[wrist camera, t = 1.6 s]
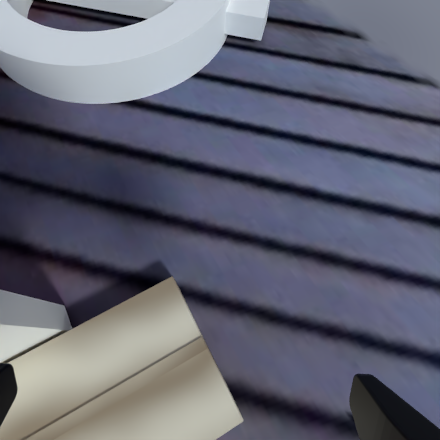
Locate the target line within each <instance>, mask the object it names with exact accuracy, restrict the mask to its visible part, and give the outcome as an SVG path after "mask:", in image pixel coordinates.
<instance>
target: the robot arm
mask: <svg viewBox="0 0 440 440" xmlns="http://www.w3.org/2000/svg"><path fill="white" fill-rule="evenodd" d="M17 390H18V387H17V382H16V377H15V373H14V368H13V366H12V365H11V364H9V363H0V427H1V425H2V423H3V421H4V419H5V417H6V415H7V413H8V411H9V410H10V408H11V406H12V404H13V402H14V400H15V398H16V395H17ZM350 408H351V411H352V415H353V418H354V421H355V425H356V428H357V431H358V435H359V438H360V440H440V429H439V428H438V427H437V426H435V425H434V424H433V423H432V422H430V421H429V420H428V419H427V418H425V417H424V416H423V415H422V414H420V413H419V412H418V411H417V410H415V409H414V408H413V407H412V406H410V405H409V404H408V403H407V402H405V401H404V400H403V399H402V398H400V397H399V396H398V395H397V394H395V393H394V392H393V391H392V390H391V389H389V388H388V387H387V386H386V385H384V384H383V383H382V382H381V381H379V380H378V379H377V378H376V377H374V376H373V375H370V374H356V375H355V376H354V378H353V383H352V388H351V393H350Z"/></svg>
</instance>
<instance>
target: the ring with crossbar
mask: <svg viewBox="0 0 440 440" xmlns="http://www.w3.org/2000/svg"><path fill="white" fill-rule="evenodd" d="M33 1H34V0H0V68H1V69H2V70H3V71H4V72H5V73H6V74H7V75H8V76H9V77H10V78H12V79H13V80H14V81H16V82H17V83H19V84H20V85H22V86H24V87H25V88H27V89H29V90H31V91H33V92H36V93H38V94H41V95H44V96H47V97H50V98H54V99H58V100H62V101H68V102H76V103H88V104H102V103H116V102H123V101H130V100H134V99H139V98H143V97H147V96H150V95H153V94H156V93H159V92H162V91H164V90H167V89H169V88H171V87H173V86H175V85H177V84H179V83H181V82H183V81H185V80H186V79H188V78H190V77H191V76H193V75H194V74H196V73H197V72H198V71H199V70H201V69H202V68H203V67H204V66H205V65H206V64H208V63H209V62H210V61H211V60H212V58H213V57H214V56H215V55H216V54H217V53H218V51H219V50H220V48H221V47H222V45H223V44H224V42H225V40H226V38H227V35H233V36H239V37H244V38H249V39H255V40H260V41H261V39H262V35H263V32H264V28H265V24H266V21H267V15H268V8H269V2H270V0H48V1H53V2H59V3H64V4H70V5H75V6H81V7H86V8H92V9H97V10H103V11H108V12H113V13H119V14H124V15H130V16H135V17H141V18H146V19H147V20H144V21H142V22H139V23H136V24H133V25H130V26H126V27H122V28H118V29H112V30H106V31H96V32H75V31H65V30H59V29H54V28H50V27H46V26H43V25H40V24H37V23H35V22H33V21H31V20H29V19H27V15H28V11H29V8H30V6H31V4H32V2H33Z"/></svg>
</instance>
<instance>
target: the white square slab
mask: <svg viewBox="0 0 440 440" xmlns="http://www.w3.org/2000/svg"><path fill="white" fill-rule="evenodd" d="M71 329H72V326H71V323H70V320H69V317H68V315H67V312H66V309H65V306H64V305H60V304H56V303H52V302H48V301H44V300H40V299H36V298H32V297H28V296H24V295H20V294H16V293H12V292H8V291H4V290H0V363H8V362H10V361H12V360H14V359H16V358H18V357H20V356H22V355H24V354H26V353H27V352H29V351H31V350H33V349H35V348H37V347H39V346H41V345H43V344H45V343H46V342H48V341H50V340H52V339H54V338H56V337H58V336H60V335H62V334H64V333H65V332H67V331H69V330H71Z"/></svg>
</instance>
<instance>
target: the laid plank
mask: <svg viewBox="0 0 440 440" xmlns="http://www.w3.org/2000/svg"><path fill="white" fill-rule="evenodd" d="M8 363H9V364H11V365H12V366H13V368H14V373H15V377H16V382H17V387H18V390H17V395H16V398H15V400H14V402H13V404H12V406H11V408H10V410H9V411H8V413H7V415H6V417H5V419H4V421H3V423H2V425H1V427H0V440H216V439H217V438H219V437H220V436H222V435H223V434H225V433H226V432H228V431H229V430H231V429H232V428H234V427H235V426H237V425H238V424H240V423H241V422H243V418H242V416H241V413H240V411H239V409H238V407H237V405H236V403H235V401H234V399H233V397H232V395H231V393H230V391H229V389H228V387H227V385H226V383H225V381H224V379H223V376H222V374H221V372H220V370H219V368H218V366H217V364H216V362H215V360H214V358H213V356H212V354H211V352H210V350H209V348H208V346H207V344H206V342H205V340H204V338H203V336H202V334H201V332H200V330H199V328H198V326H197V324H196V322H195V320H194V318H193V316H192V314H191V311H190V309H189V307H188V305H187V303H186V301H185V299H184V297H183V295H182V293H181V291H180V289H179V287H178V285H177V283H176V281H175V280H174V278H173V276H172V277H170V278H168V279H166V280H164V281H162V282H161V283H159V284H157V285H155V286H153V287H151V288H149V289H147V290H145V291H143V292H142V293H140V294H138V295H136V296H134V297H132V298H130V299H128V300H126V301H124V302H122V303H121V304H119V305H117V306H115V307H113V308H111V309H109V310H107V311H105V312H103V313H102V314H100V315H98V316H96V317H94V318H92V319H90V320H88V321H86V322H84V323H83V324H81V325H79V326H77V327H75V328H73V329H71V330H69V331H67V332H65V333H64V334H62V335H60V336H58V337H56V338H54V339H52V340H50V341H48V342H46V343H45V344H43V345H41V346H39V347H37V348H35V349H33V350H31V351H29V352H27V353H26V354H24V355H22V356H20V357H18V358H16V359H14V360H12V361H10V362H8Z"/></svg>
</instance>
